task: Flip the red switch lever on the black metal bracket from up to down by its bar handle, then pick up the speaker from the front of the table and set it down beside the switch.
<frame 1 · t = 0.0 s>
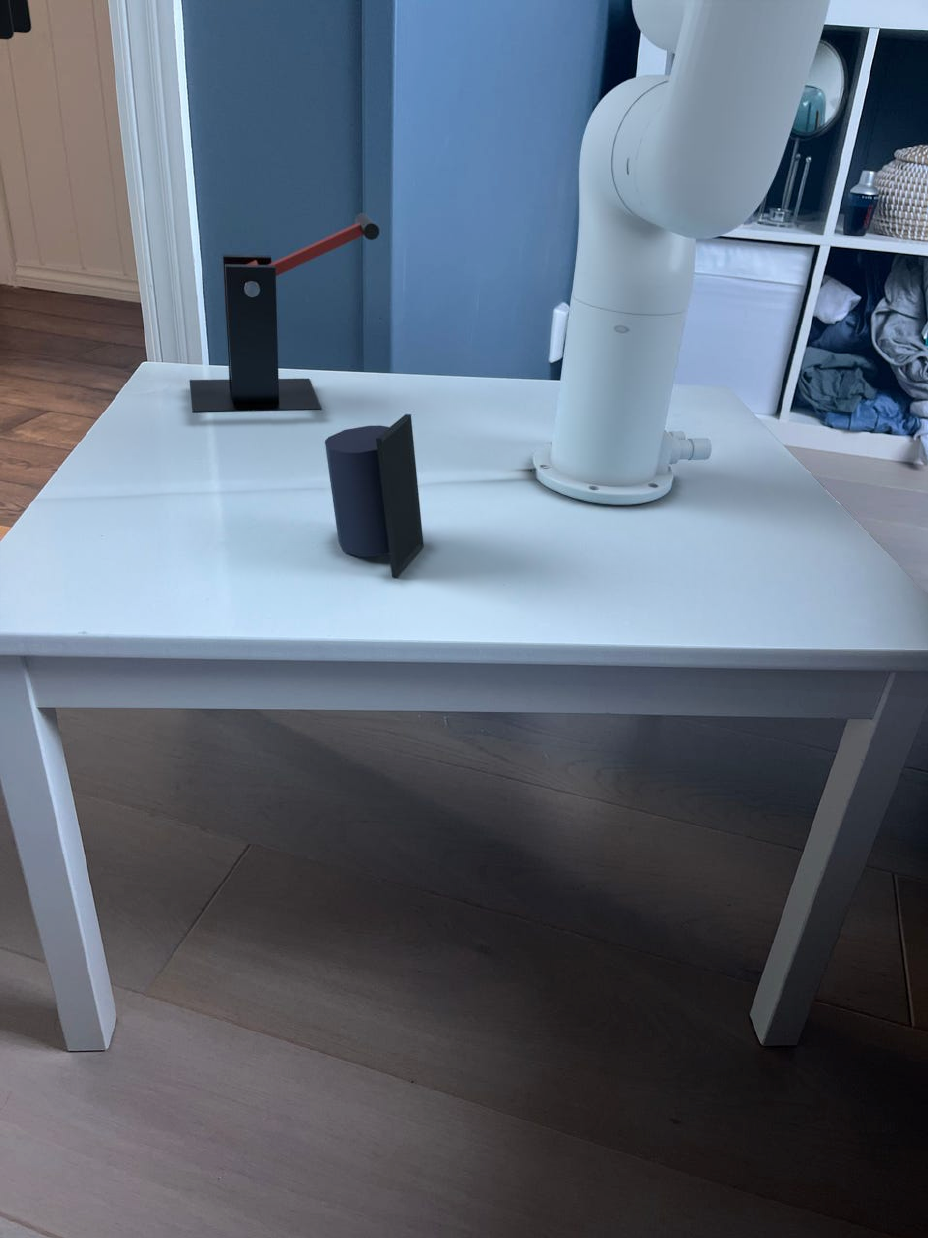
lever: (304, 254, 90), point 14 cm above the table, hinge at 25.0°
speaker: (370, 550, 73), on the table
bracket: (254, 405, 96), on the table
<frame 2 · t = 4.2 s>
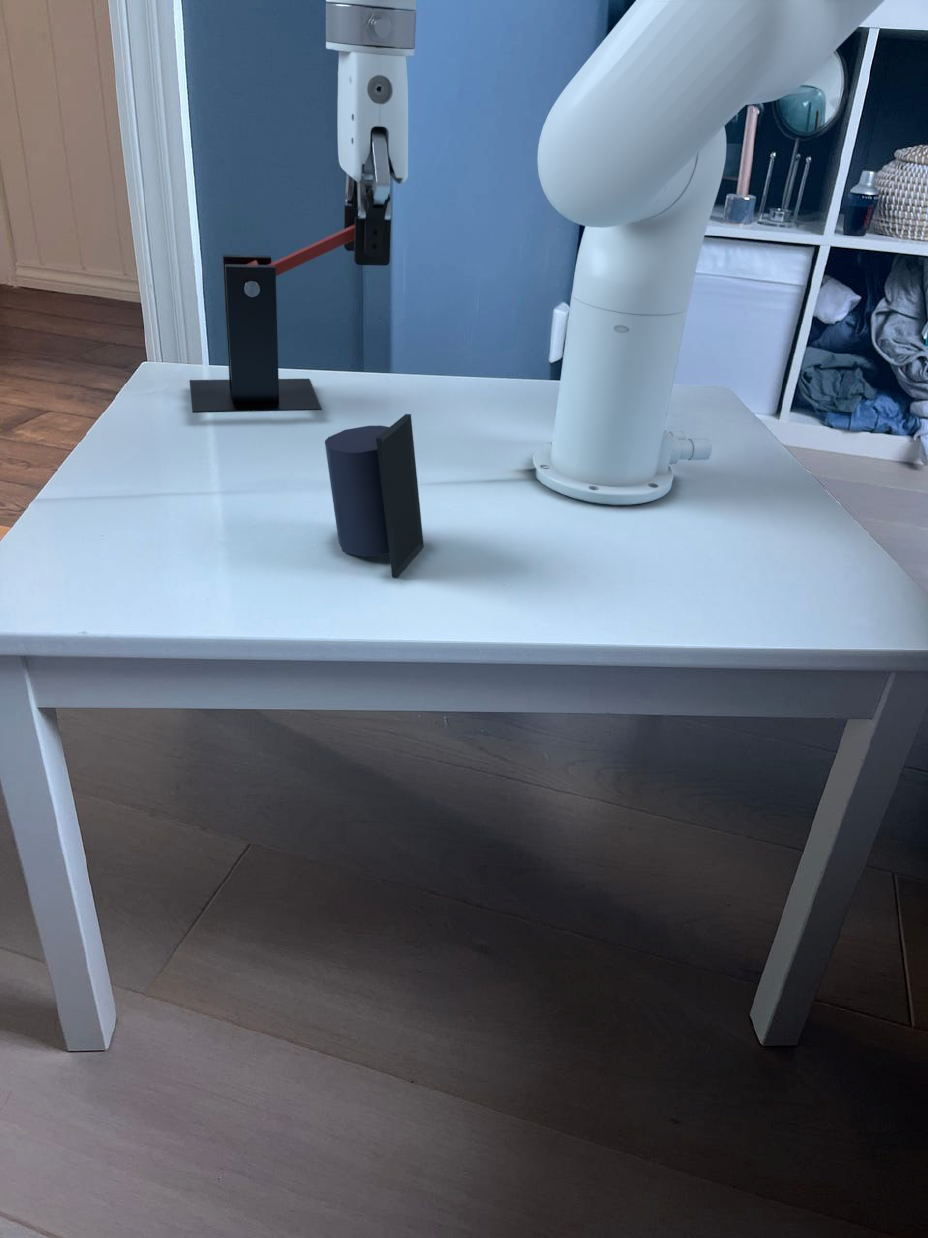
hand: (366, 255, 91), 14 cm above the table, tool pointing down, fingers closed on lever, 5 cm apart
lever: (304, 254, 90), point 14 cm above the table, hinge at 25.0°, touching gripper
everything else where it was.
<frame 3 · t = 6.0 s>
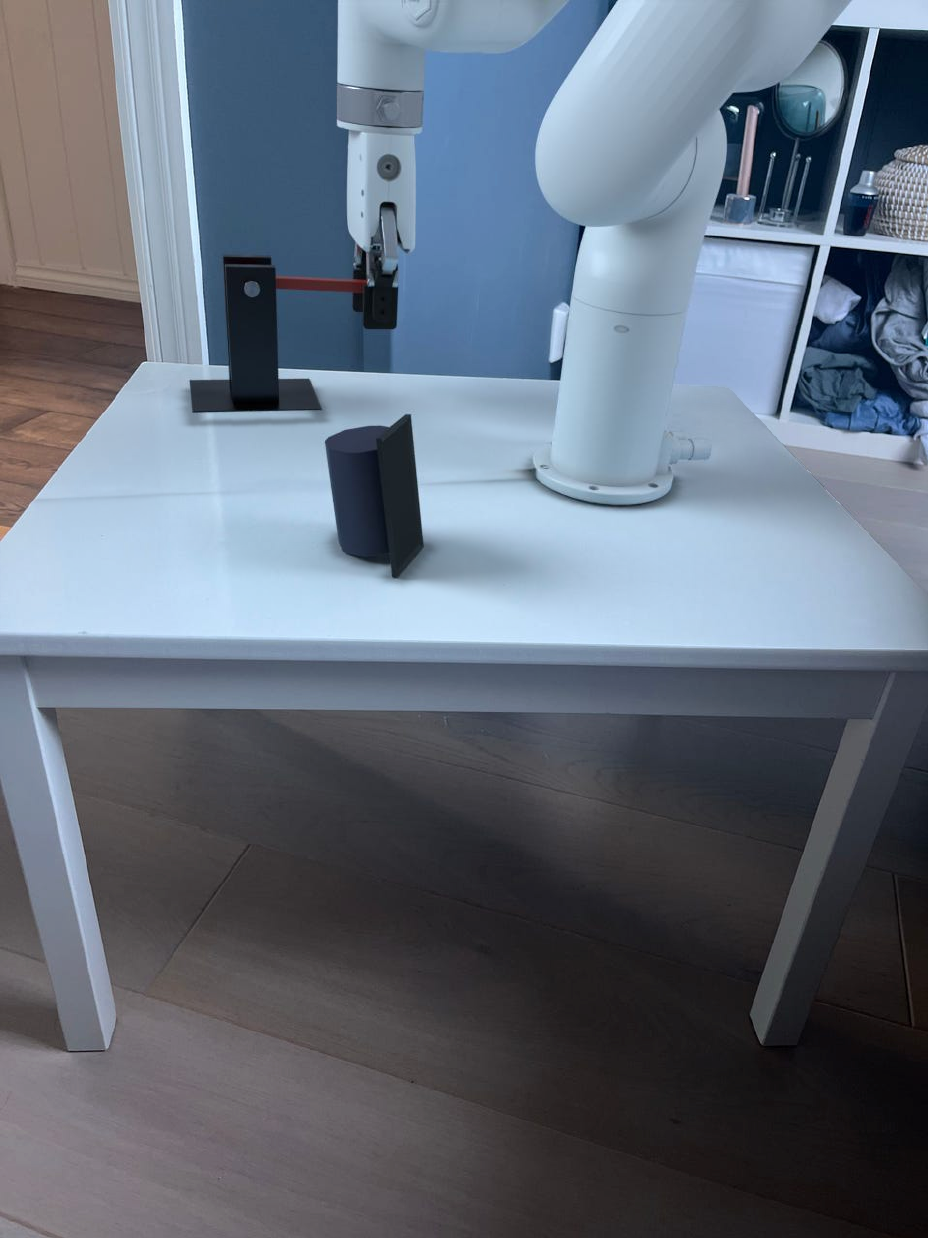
hand: (373, 317, 95), 9 cm above the table, tool pointing down, fingers closed on lever, 5 cm apart
lever: (310, 283, 92), point 12 cm above the table, hinge at -1.9°, touching gripper
everything else where it was.
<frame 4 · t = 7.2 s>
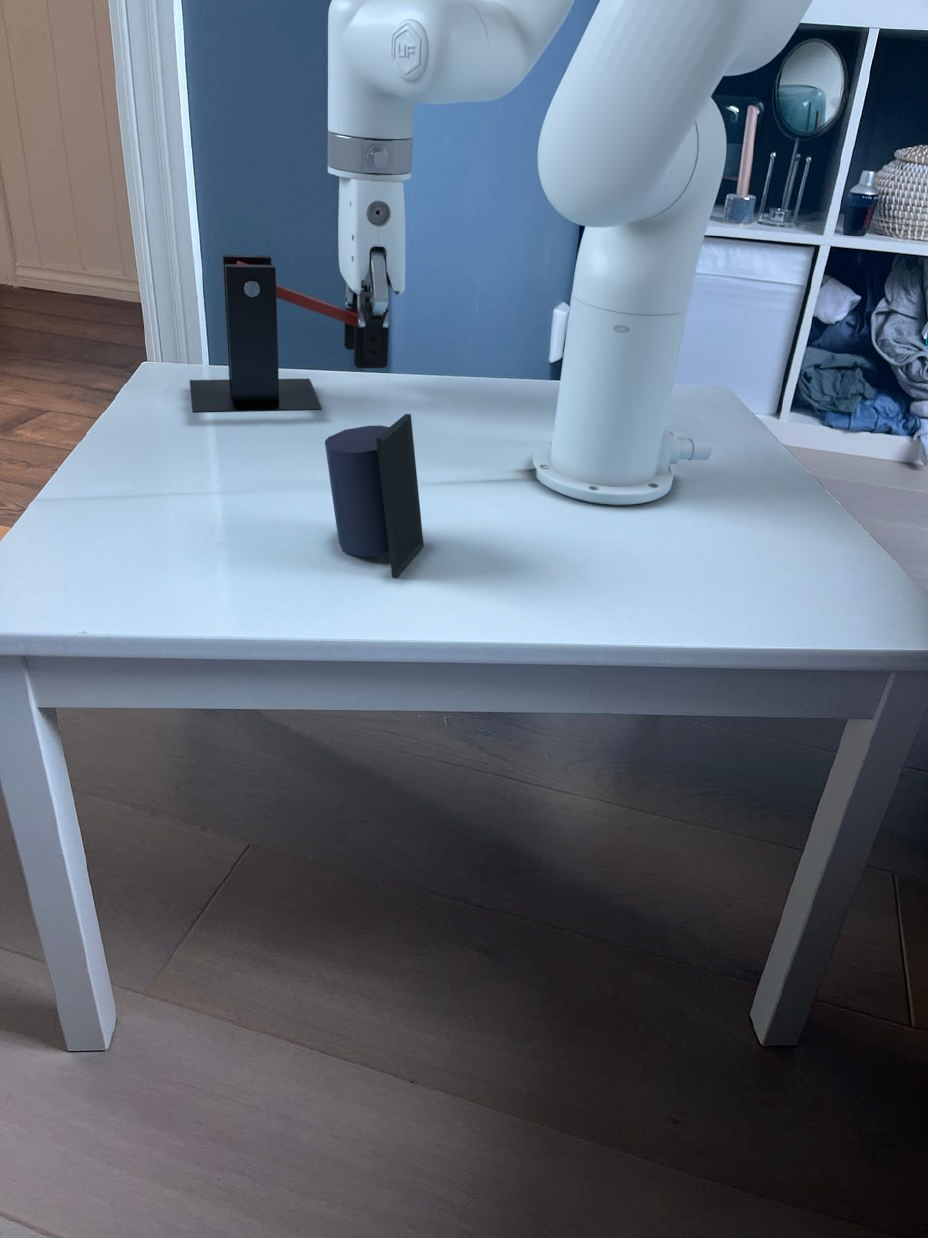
hand: (365, 355, 97), 5 cm above the table, tool pointing down, fingers closed on lever, 5 cm apart
lever: (307, 302, 92), point 10 cm above the table, hinge at -19.5°, touching gripper
everything else where it was.
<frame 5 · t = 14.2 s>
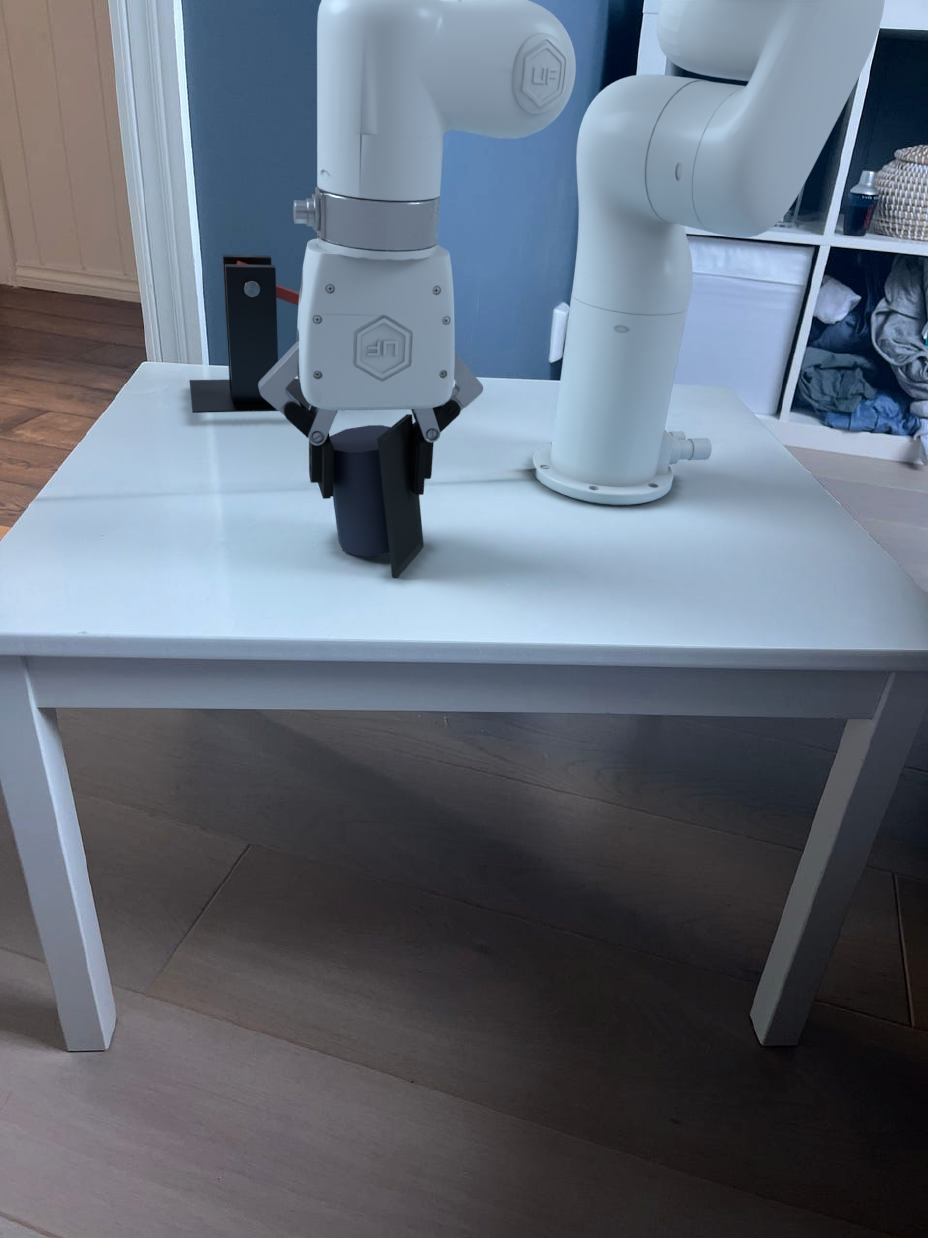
hand: (370, 486, 70), 5 cm above the table, tool pointing down, fingers closed on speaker, 5 cm apart
lever: (307, 302, 92), point 10 cm above the table, hinge at -19.5°
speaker: (370, 550, 73), on the table, touching gripper
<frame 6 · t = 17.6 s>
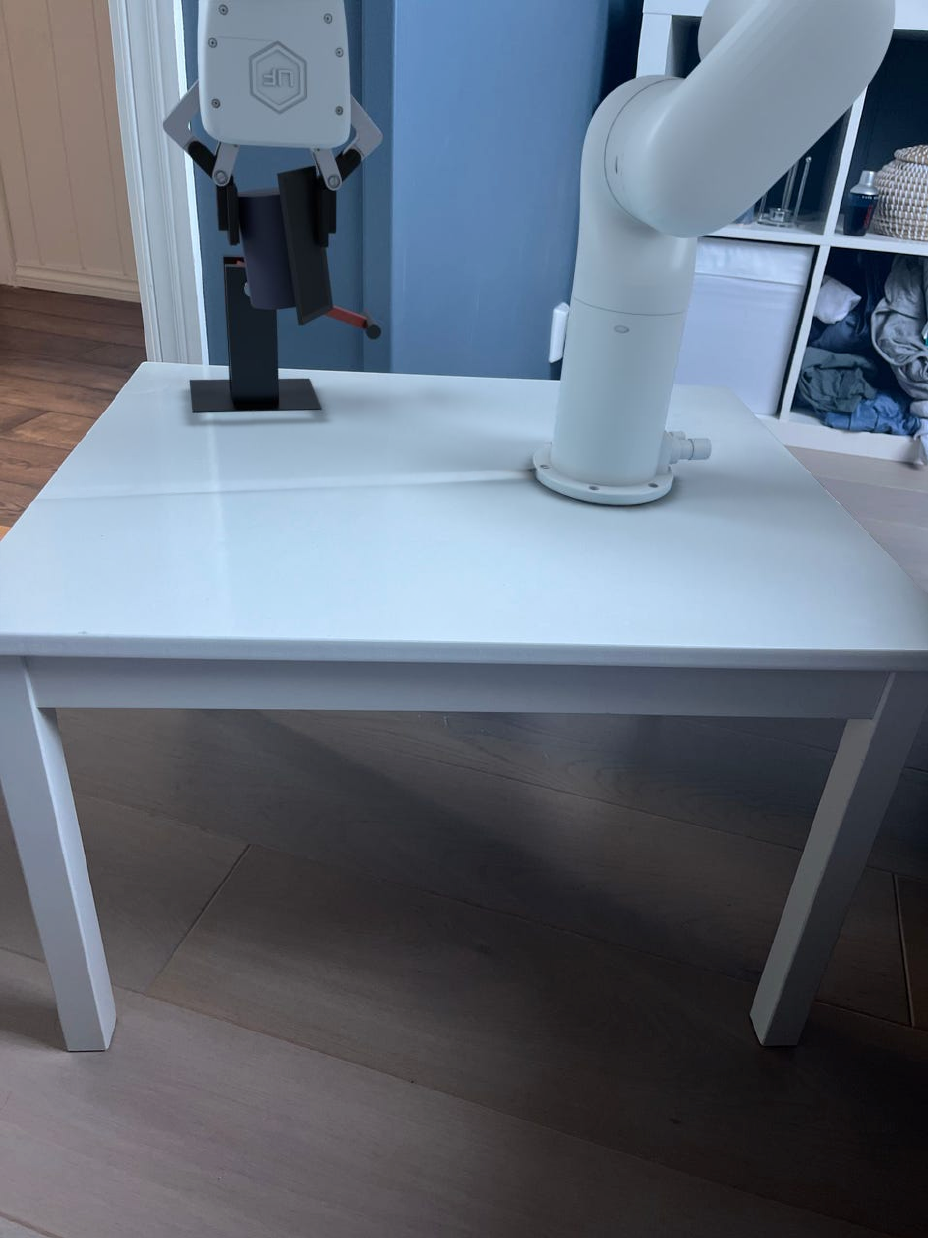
hand: (277, 240, 73), 19 cm above the table, tool pointing down, fingers closed on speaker, 5 cm apart
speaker: (281, 311, 76), point 14 cm above the table, touching gripper
everything else where it was.
when the fingers open (5 cm above the table, at t = 21.4 s): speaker stays where it is, on the table.
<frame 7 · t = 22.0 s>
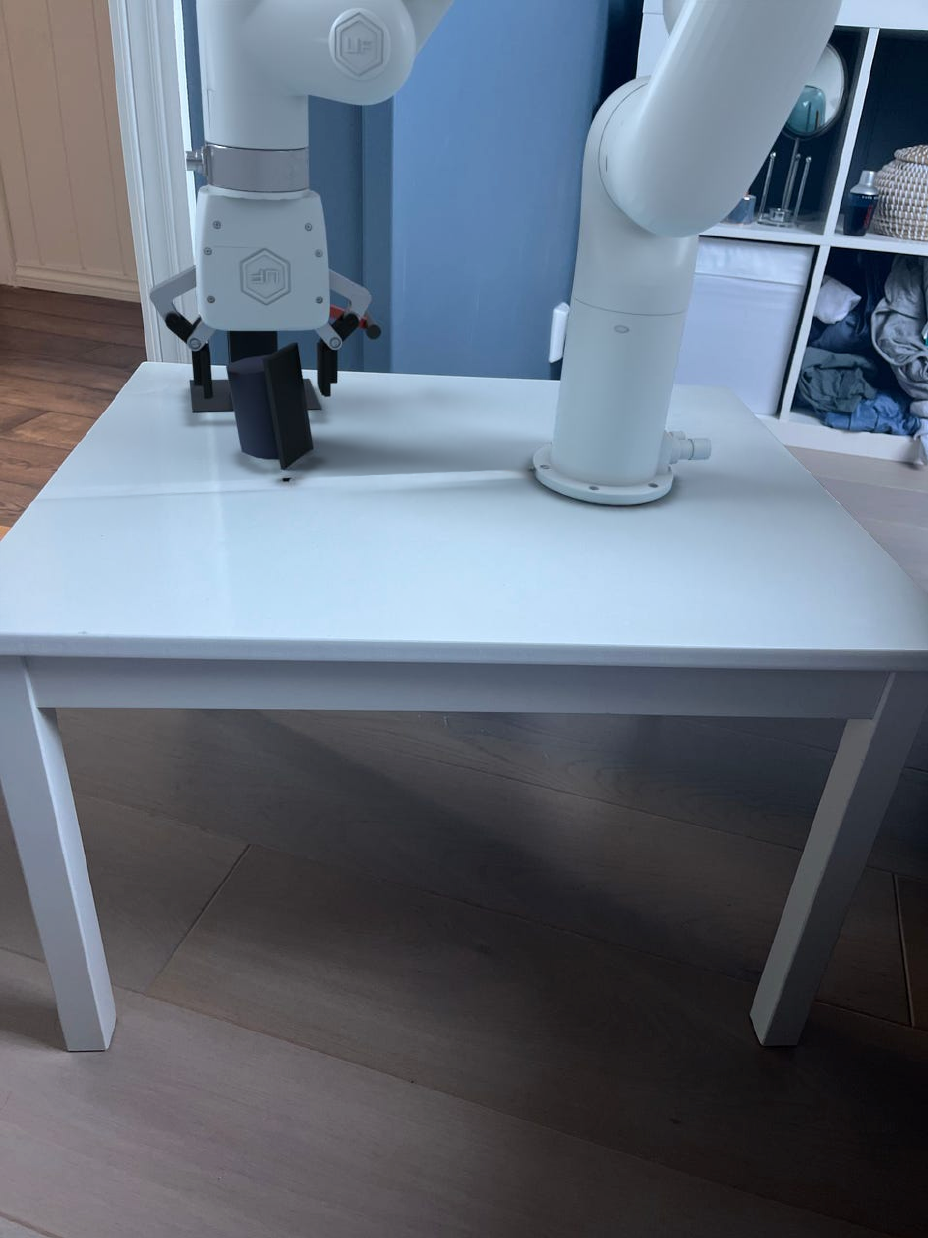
hand: (266, 392, 82), 6 cm above the table, tool pointing down, fingers open, 9 cm apart
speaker: (269, 462, 85), on the table
everything else where it was.
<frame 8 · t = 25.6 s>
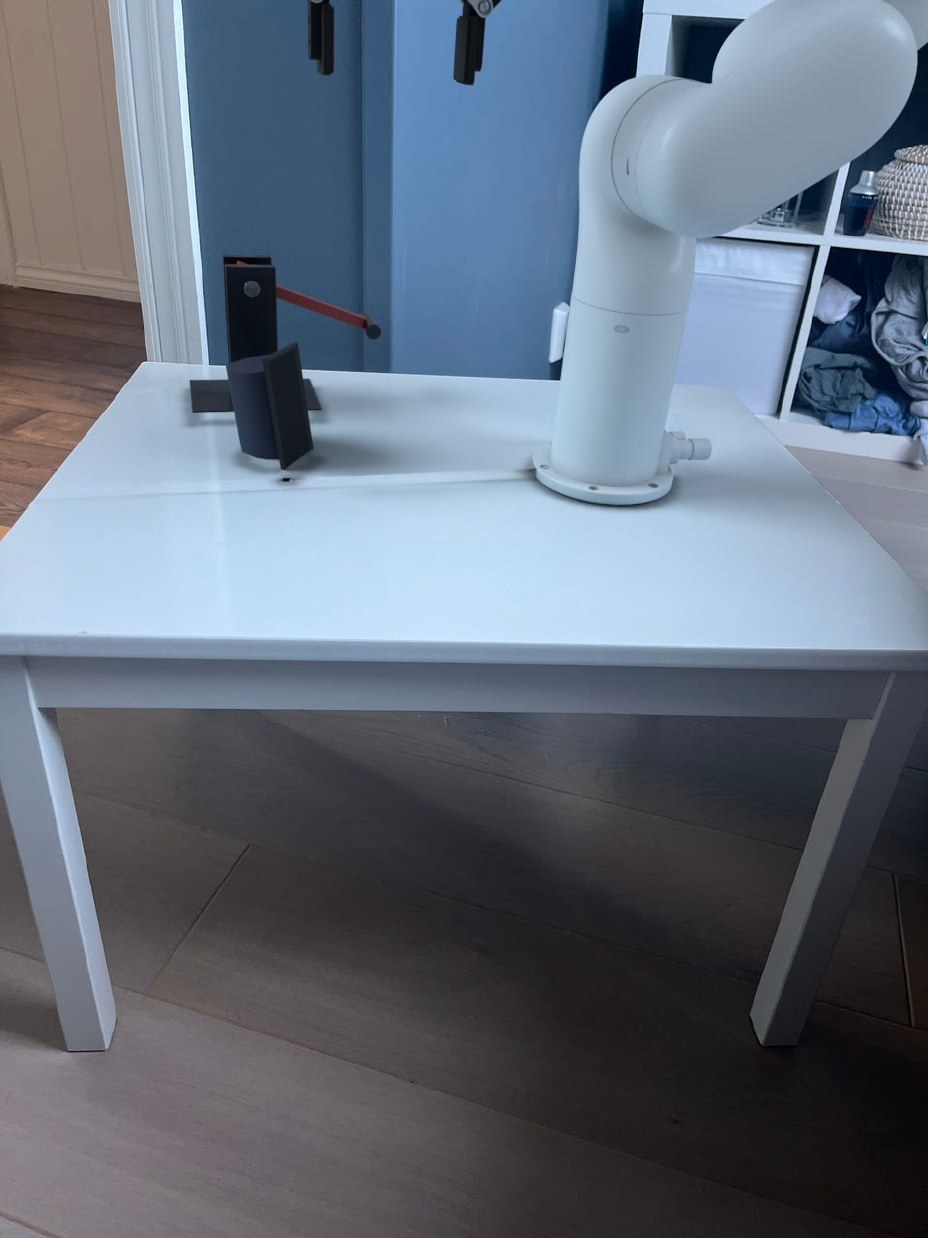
hand: (395, 78, 66), 30 cm above the table, tool pointing down, fingers open, 9 cm apart
nothing on the table moved.
at the end: lever at -20° (first picture: +25°); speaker inside the target area on the table beside the bracket (0.1 cm from its centre), on the table; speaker tilted 0° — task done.
